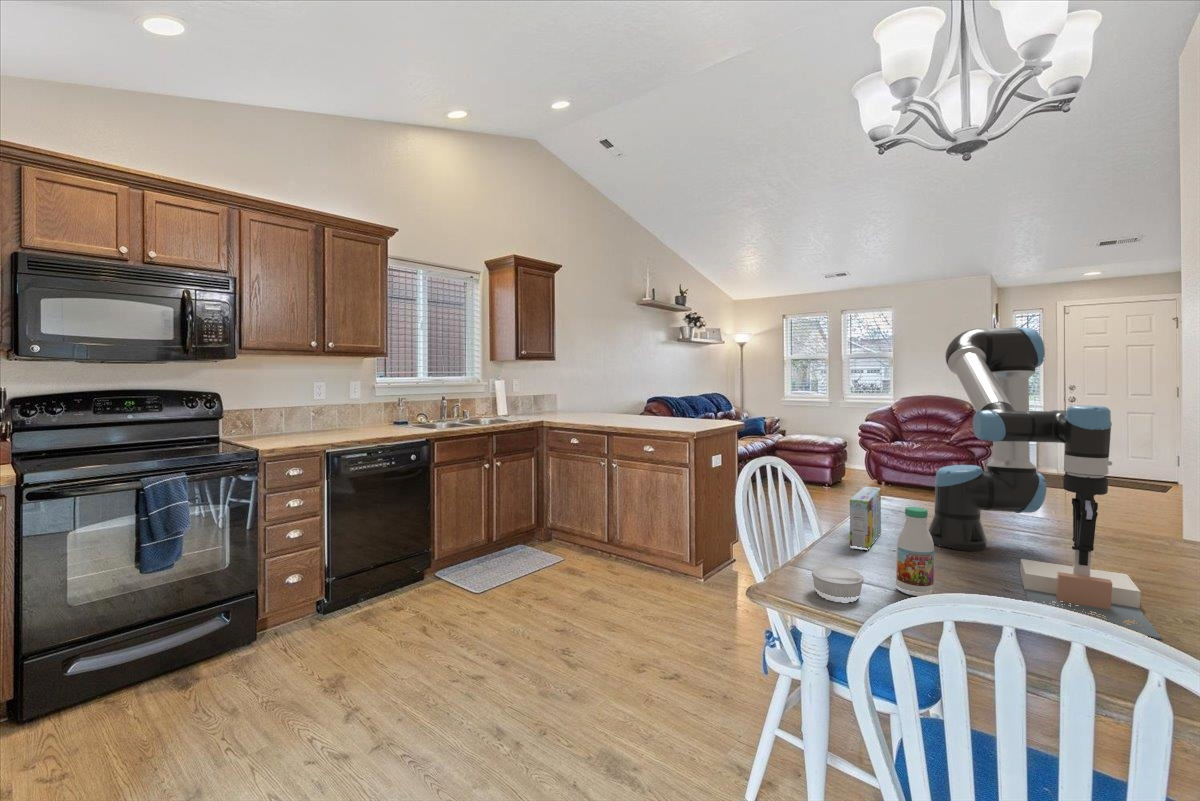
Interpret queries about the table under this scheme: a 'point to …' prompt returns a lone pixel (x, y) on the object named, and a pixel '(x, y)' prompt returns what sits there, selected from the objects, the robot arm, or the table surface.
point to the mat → (1101, 612)
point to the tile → (1084, 590)
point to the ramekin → (837, 581)
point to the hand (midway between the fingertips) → (1081, 577)
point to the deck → (1045, 574)
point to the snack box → (865, 517)
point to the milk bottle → (915, 553)
